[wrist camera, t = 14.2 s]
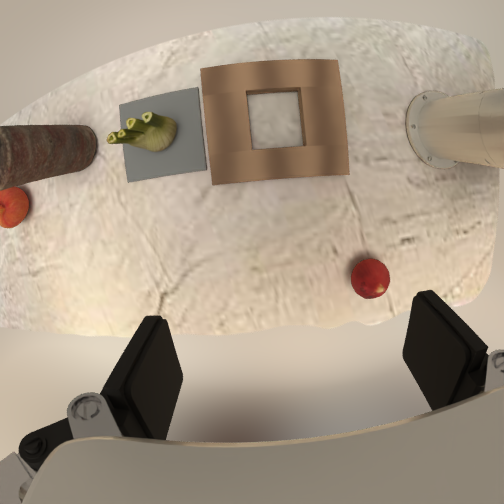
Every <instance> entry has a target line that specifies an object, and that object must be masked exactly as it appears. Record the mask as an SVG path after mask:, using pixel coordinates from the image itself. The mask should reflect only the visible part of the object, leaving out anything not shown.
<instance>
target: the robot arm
mask: <svg viewBox="0 0 504 504" xmlns="http://www.w3.org/2000/svg"><path fill="white" fill-rule="evenodd" d="M411 126H412V128H411ZM406 129H407V134H408V138H409V140H410V143H411V145H412V147H413V149H414V151H415V152H416V154H417V155H418V156H419V157H420V158H421V159H422V160H423V161H424V162H425V163H427V164H428V165H430V166H432V167H435V168H440V169H447V168H451V167H453V166H455V165H457V164H458V163H459V162H460V161H461V162H467V163H474V164H480V165H486V166H492V167H497V168H502V169H504V88H502V89H495V90H488V91H481V92H475V93H469V94H463V95H457V96H452V97H449V96H448V95H446V94H444V93H442V92H438V91H427V92H424V93H421V94H419V95H418V96H416V97H415V98H414V99H413V101H412V102H411V104H410V106H409V108H408V112H407V117H406ZM427 158H428V159H427ZM487 349H488V346H487V345H486V344H485V343H484V342H483V341H482V340H481V339H480V338H479V337H478V335H476V334H475V332H474V331H473V330H472V329H471V328H470V327H469V326H468V325H467V324H466V323H465V322H464V321H463V320H462V319H461V318H460V317H459V316H458V315H457V314H456V313H455V312H454V311H453V310H452V309H451V308H450V307H449V306H448V305H447V304H446V303H445V302H444V301H443V300H442V299H441V298H440V297H439V296H438V295H437V294H436V293H435V292H434V291H432V290H427V291H421V292H418V293H417V295H416V296H415V297H414V298H413V301H412V307H411V313H410V319H409V324H408V329H407V334H406V338H405V343H404V347H403V359H404V361H405V363H406V364H407V366H408V368H409V370H410V371H411V373H412V375H413V377H414V378H415V380H416V382H417V383H418V385H419V387H420V389H421V391H422V392H423V394H424V396H425V398H426V400H427V402H428V403H429V405H430V407H431V409H432V411H431V412H428V413H424V414H421V415H418V416H414V417H411V418H407V419H404V420H400V421H396V422H393V423H389V424H384V425H380V426H376V427H371V428H366V429H362V430H357V431H351V432H346V433H340V434H334V435H327V436H320V437H313V438H305V439H296V440H284V441H270V442H252V443H251V442H250V443H206V442H184V441H183V442H182V441H169V440H166V437H167V433H168V430H169V426H170V423H171V419H172V416H173V412H174V409H175V406H176V402H177V399H178V395H179V392H180V389H181V385H182V382H183V373H182V370H181V367H180V363H179V360H178V357H177V354H176V351H175V347H174V343H173V340H172V337H171V333H170V329H169V326H168V322H167V320H166V319H163V318H162V317H161V316H145V318H144V319H143V321H142V322H141V324H140V326H139V327H138V329H137V331H136V332H135V334H134V335H133V337H132V339H131V340H130V342H129V344H128V345H127V347H126V349H125V350H124V352H123V354H122V355H121V357H120V359H119V361H118V362H117V364H116V366H115V368H114V369H113V371H112V373H111V375H110V376H109V378H108V380H107V382H106V383H105V385H104V387H103V389H102V391H101V393H100V394H98V393H93V392H91V393H84V394H81V395H79V396H77V397H76V398H74V399H73V400H72V401H71V402H70V404H69V405H68V408H67V416H68V417H67V418H65V419H63V420H60V421H58V422H56V423H53V424H51V425H49V426H46V427H44V428H41V429H39V430H36V431H34V432H31V433H29V434H28V435H26V436H25V437H24V438H23V439H22V441H21V442H20V445H19V453H18V454H16V453H15V452H13V453H11V454H10V455H9V456H7V457H6V458H4V459H3V460H2V461H0V504H504V350H495V351H493V352H491V354H490V355H488V354H487V353H486V352H487Z"/></svg>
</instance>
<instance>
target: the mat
mask: <svg viewBox="0 0 504 504" xmlns="http://www.w3.org/2000/svg"><path fill="white" fill-rule="evenodd" d="M119 109H120V122H121V129H127V128H128V127H127V124H126V120H127V119H128V118H136V119H141V120H143V118H142V114H143V113H144V112H153V113H155V114H157V115H160V116H166V117H169V118H171V119H173V120H174V121H175V122H176V125H177V130H176V135H175V138H174V140H173V142H172V143H171V145H169V147H167V148H166V149H164V150H162V151H159V152H152V151H149V150H146V149H142V148H138V147H134V146H131V145H130V144H123V151H124V159H125V167H126V174H127V181H128V183H129V182H134V181H140V180H145V179H151V178H157V177H163V176H169V175H175V174H182V173H189V172H196V171H203V170H207V165H206V157H205V148H204V139H203V130H202V120H201V110H200V100H199V89H198V87H196V88H190V89H185V90H179V91H174V92H170V93H165V94H160V95H156V96H152V97H148V98H144V99H140V100H136V101H132V102H128V103H125V104H121V105H119Z"/></svg>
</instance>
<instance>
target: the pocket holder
mask: <svg viewBox="0 0 504 504" xmlns="http://www.w3.org/2000/svg"><path fill="white" fill-rule="evenodd" d="M200 71H201V82H202V93H203V103H204V113H205V123H206V133H207V142H208V151H209V160H210V168H211V177H212V185H220V184H229V183H238V182H248V181H259V180H270V179H282V178H296V177H312V176H331V175H350V174H349V157H348V143H347V131H346V121H345V111H344V102H343V94H342V86H341V79H340V72H339V65H338V60H324V59H297V60H272V61H258V62H247V63H237V64H229V65H221V66H214V67H208V68H201V69H200ZM296 91H298V100H299V109H300V118H301V128H302V139H303V146H300V147H283V148H270V149H258V150H252V142H251V132H250V123H249V113H248V104H247V95H251V94H262V93H276V92H296Z"/></svg>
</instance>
